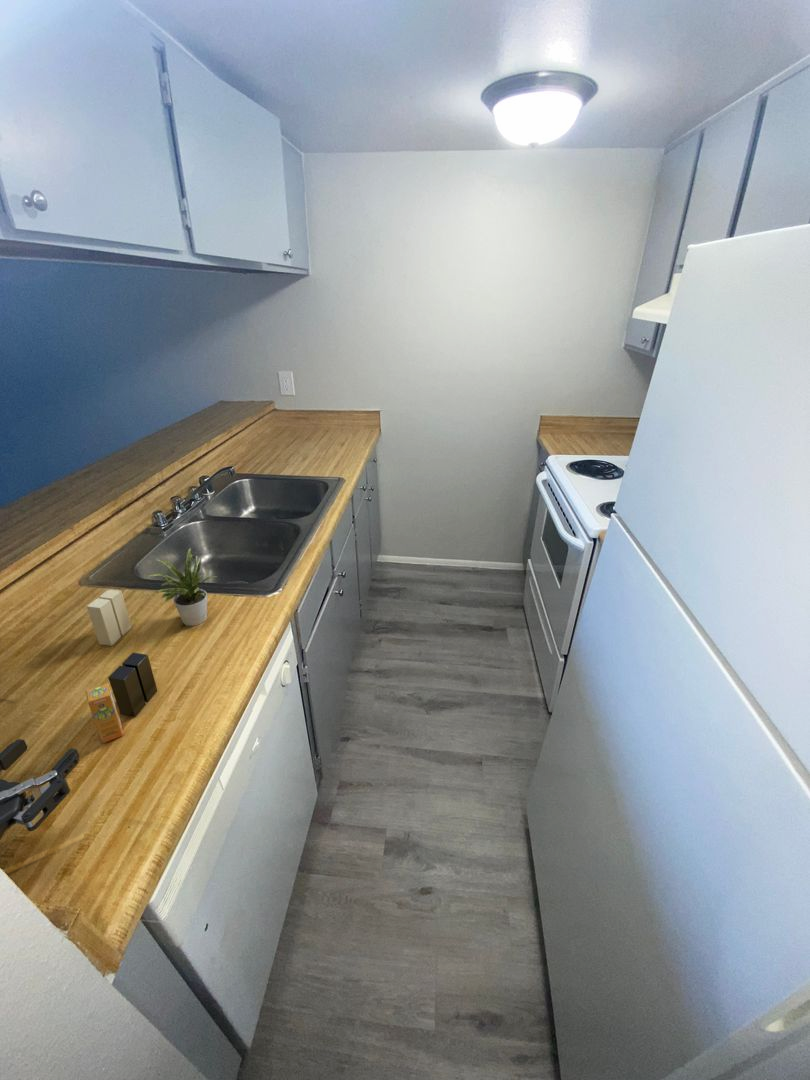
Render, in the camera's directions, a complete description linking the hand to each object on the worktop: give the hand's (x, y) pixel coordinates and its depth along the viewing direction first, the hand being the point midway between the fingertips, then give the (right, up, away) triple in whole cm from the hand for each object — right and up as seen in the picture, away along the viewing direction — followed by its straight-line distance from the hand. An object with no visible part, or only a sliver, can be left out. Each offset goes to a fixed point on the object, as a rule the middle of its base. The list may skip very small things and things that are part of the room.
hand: (49, 747), depth 68 cm
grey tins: (+2, 0, +19) cm, 19 cm away
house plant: (+2, +12, +43) cm, 44 cm away
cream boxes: (-12, +9, +36) cm, 39 cm away
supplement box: (+1, -3, +13) cm, 13 cm away
